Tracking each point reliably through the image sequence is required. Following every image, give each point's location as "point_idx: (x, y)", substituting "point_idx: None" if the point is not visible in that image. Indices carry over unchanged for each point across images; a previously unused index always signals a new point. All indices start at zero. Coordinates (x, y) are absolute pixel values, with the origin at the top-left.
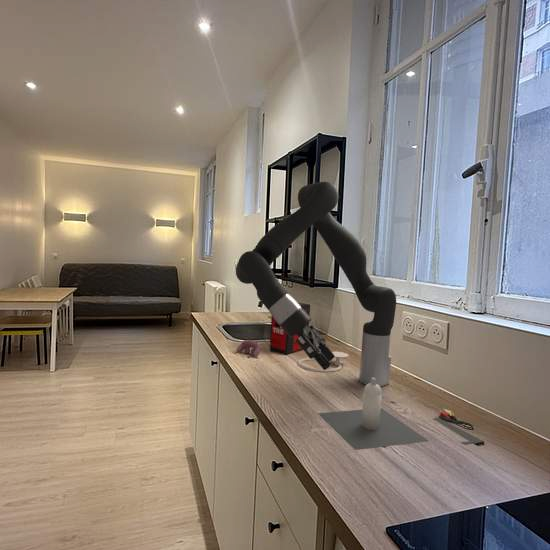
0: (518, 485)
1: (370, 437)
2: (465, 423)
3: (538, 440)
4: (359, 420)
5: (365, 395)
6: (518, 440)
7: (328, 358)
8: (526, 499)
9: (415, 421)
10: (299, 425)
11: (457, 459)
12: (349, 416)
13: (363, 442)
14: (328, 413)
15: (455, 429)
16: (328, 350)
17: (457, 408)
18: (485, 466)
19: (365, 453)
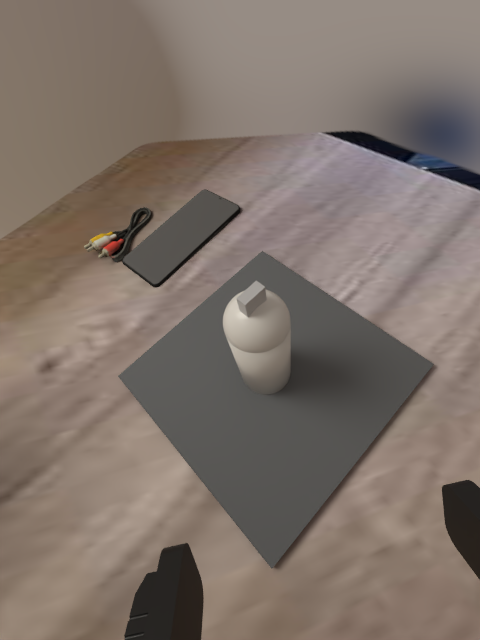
0: (324, 151)
1: (334, 351)
2: (133, 218)
3: (148, 147)
4: (244, 407)
5: (283, 345)
6: (162, 163)
7: (196, 601)
8: (358, 142)
9: (159, 294)
10: (406, 607)
11: (298, 211)
12: (232, 444)
13: (377, 358)
14: (249, 523)
15: (172, 227)
16: (172, 636)
17: (46, 243)
18: (294, 182)
19: (414, 345)
